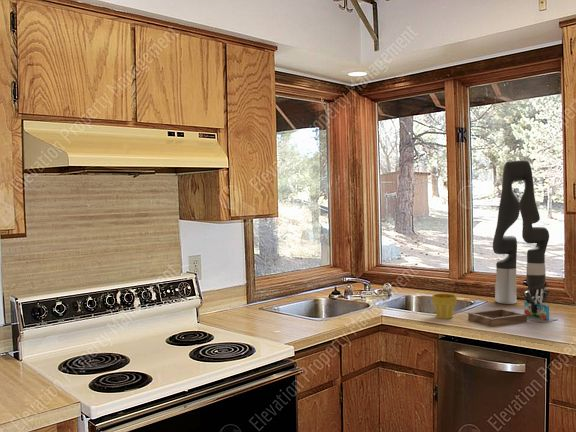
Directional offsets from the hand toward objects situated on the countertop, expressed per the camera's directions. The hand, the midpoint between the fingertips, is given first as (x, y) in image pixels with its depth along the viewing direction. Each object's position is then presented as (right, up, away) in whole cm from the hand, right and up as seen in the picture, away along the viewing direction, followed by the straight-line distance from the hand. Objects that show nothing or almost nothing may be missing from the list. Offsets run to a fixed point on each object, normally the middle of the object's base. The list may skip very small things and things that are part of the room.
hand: (536, 312), depth 240 cm
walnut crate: (-18, -3, -3) cm, 19 cm away
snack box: (0, -2, 0) cm, 2 cm away
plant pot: (-38, -3, +5) cm, 39 cm away
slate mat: (0, -2, 0) cm, 2 cm away
